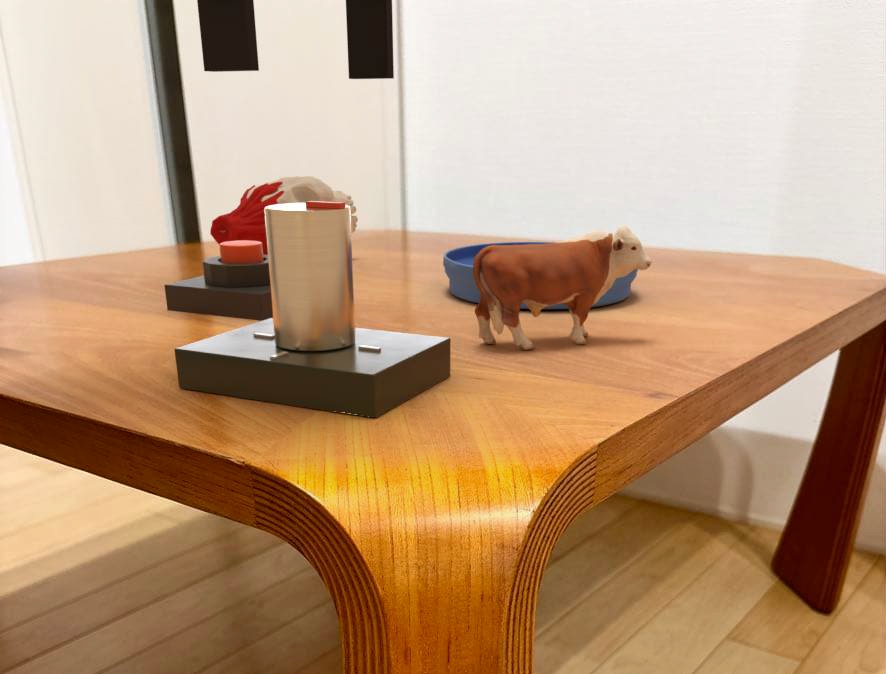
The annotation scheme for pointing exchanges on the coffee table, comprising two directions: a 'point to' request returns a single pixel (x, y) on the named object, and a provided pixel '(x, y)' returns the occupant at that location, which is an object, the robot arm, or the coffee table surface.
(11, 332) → the coffee table surface
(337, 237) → the knob
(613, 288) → the bowl
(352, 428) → the coffee table surface
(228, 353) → the dial panel
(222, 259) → the button
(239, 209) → the red cream irregular piece
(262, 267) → the button box
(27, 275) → the coffee table surface
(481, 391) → the coffee table surface
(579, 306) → the bull figurine
